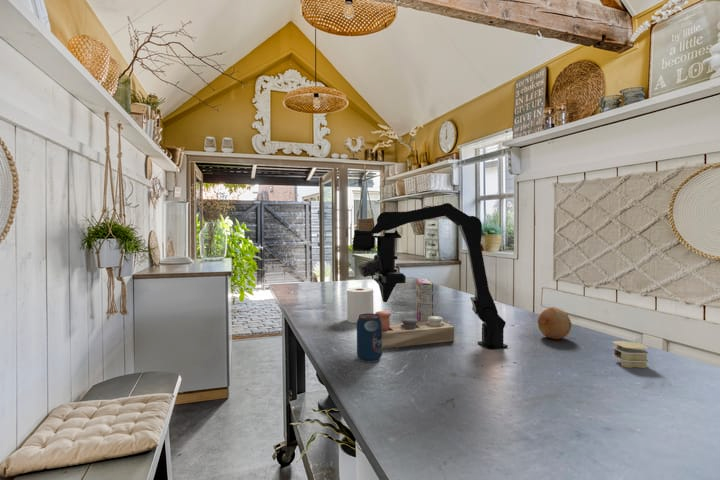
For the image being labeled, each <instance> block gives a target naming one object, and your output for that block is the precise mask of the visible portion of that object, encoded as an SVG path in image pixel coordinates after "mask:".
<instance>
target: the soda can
mask: <svg viewBox="0 0 720 480" xmlns="http://www.w3.org/2000/svg"><path fill="white" fill-rule="evenodd" d="M379 317H380V316H379V315H378V314H375V313H373V314H361V315H359V318H358V320H357V323H356V356H357V358H359V360H360V361H361V362H363V363H365V362H366V363H374V362H378V361H380V359H381V357H382V356H383V349H382V322H381V320H380V318H379Z"/></svg>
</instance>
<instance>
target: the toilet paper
mask: <svg viewBox="0 0 720 480" xmlns="http://www.w3.org/2000/svg"><path fill="white" fill-rule="evenodd" d="M361 314H374V289H373V288H369V287H350V288H348V289H346V321H347V322H348V323H352V324H357V320H358V318H359V315H361Z"/></svg>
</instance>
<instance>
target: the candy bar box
mask: <svg viewBox="0 0 720 480" xmlns="http://www.w3.org/2000/svg"><path fill="white" fill-rule="evenodd" d="M415 291H416V292H415V298H416V299H415V303H416V305H415V306H416V309H415V310H416V320H417V321H427V320H428V317H430V316H434V292H433V291H434V285H433V282H431V280H430V279H429V278H416V279H415Z"/></svg>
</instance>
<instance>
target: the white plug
mask: <svg viewBox="0 0 720 480" xmlns="http://www.w3.org/2000/svg"><path fill="white" fill-rule="evenodd" d="M428 320H429V325H430V326H441V321H443V317H442V316H437V315H433V316H430V317H428Z"/></svg>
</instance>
